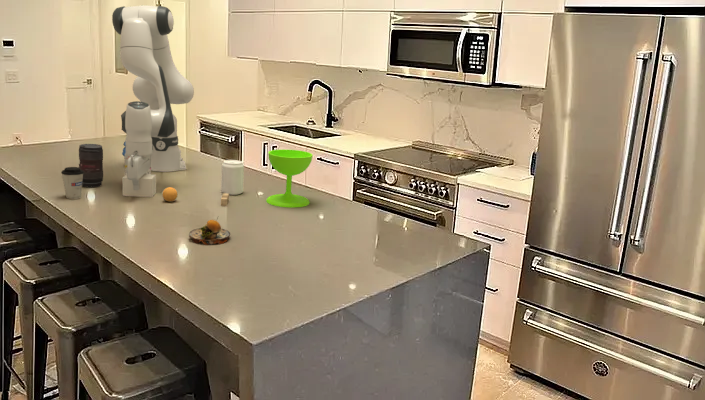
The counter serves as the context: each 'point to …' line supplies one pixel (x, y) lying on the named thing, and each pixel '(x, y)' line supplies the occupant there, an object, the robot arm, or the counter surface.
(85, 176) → the camera lens
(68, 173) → the coffee cup
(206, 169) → the counter surface
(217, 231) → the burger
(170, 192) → the ball
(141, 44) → the robot arm
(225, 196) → the oak stop strip
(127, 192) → the matte white cuboid
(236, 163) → the beverage can
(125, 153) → the grapes
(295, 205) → the wineglass
